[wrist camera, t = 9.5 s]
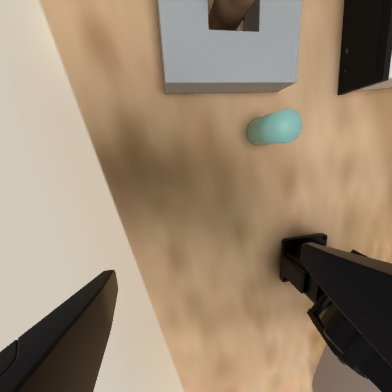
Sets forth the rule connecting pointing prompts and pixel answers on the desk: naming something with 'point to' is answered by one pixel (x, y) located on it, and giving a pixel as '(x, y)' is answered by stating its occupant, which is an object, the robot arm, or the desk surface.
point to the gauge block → (229, 48)
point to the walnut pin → (228, 14)
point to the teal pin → (275, 128)
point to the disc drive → (366, 46)
